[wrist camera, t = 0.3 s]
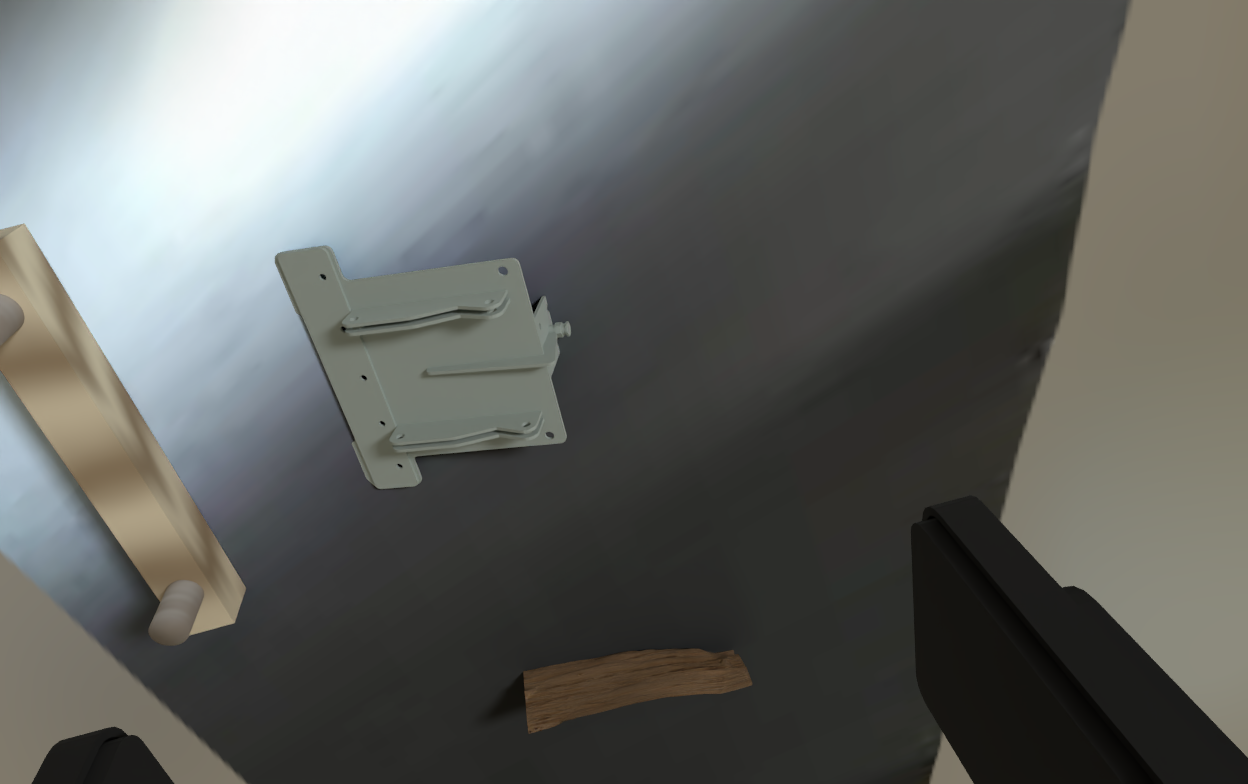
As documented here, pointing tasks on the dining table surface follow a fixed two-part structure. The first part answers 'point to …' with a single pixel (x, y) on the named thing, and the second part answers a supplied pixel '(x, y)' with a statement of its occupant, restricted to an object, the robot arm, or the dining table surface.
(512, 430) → the metal bracket
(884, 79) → the dining table surface
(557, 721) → the wood plank
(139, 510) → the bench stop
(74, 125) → the dining table surface
